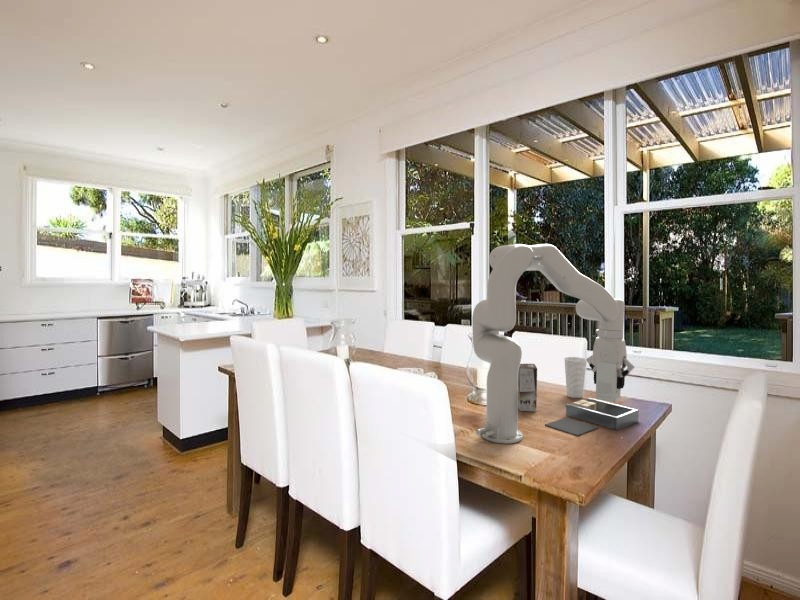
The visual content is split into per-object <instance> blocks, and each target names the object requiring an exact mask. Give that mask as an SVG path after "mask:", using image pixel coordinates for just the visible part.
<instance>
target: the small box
mask: <svg viewBox="0 0 800 600" xmlns="http://www.w3.org/2000/svg"><path fill="white" fill-rule="evenodd" d="M616 366H617V364H615V363H609V362H603V361H597V372H596V384H595V399H596V400H600V401H604V402H609V403H615V402H617V401H618V400H619V399H621V394H622V393H621V391H622V388H621V389H617V377H619V375H618V373H617V369H616Z"/></svg>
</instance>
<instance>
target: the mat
mask: <svg viewBox="0 0 800 600" xmlns="http://www.w3.org/2000/svg"><path fill="white" fill-rule="evenodd" d="M544 426H545V427H548V428H551V429H554V430H557V431H559V432H563V433H566V434H569V435H572V436H576V437H579V436H582V435H584V434H587V433H589V432H592V431H594V430H597V429H599V428H600V427H599V426H598V425H597V426H596V425H595V424H589V423H587V422H585V421H584V422H583V421H581V420H576V419H573V418H571V417H568V416H566V417H563V418H559V419H557V420H554V421H550V422H548V423H546V424H544Z"/></svg>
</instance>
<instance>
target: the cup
mask: <svg viewBox="0 0 800 600" xmlns="http://www.w3.org/2000/svg"><path fill="white" fill-rule="evenodd" d="M586 359H587V358H584V357H578V356H568V357H564V371H565V372H564V373H565V384H566V385H565V386H566V387H565V388H566V396H567V397H568V398H572V399H581V398H583V397H584V387H585V377H586V368H587V360H586Z"/></svg>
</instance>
